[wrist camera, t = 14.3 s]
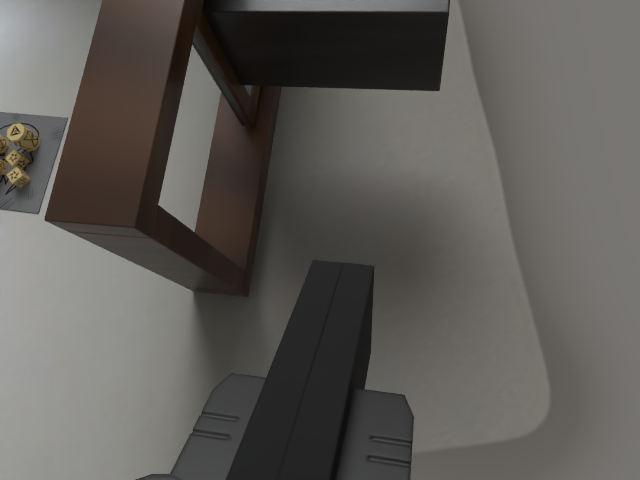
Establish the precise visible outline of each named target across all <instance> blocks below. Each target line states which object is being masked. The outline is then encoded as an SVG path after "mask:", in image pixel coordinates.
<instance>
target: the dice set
mask: <svg viewBox="0 0 640 480" xmlns="http://www.w3.org/2000/svg"><path fill="white" fill-rule="evenodd" d="M9 140H10V141H11V142H13V143H14V144H16V145H17V146H19V147H20V148H22V149H23V150H25V151H27V152H32V151H34V150H35V149H37V148H38V147H39V146H40V142H41V139H40V137H39V136H38V135H37V134H36V133H34V132H33V131H32V130H30V129H29V128H27V127H26V126H24V125H23V124H22V123H20V122H17V123H12V124H11V125H10V127H9V128H8V129H7V130H6V137H4V136H3V135H1V134H0V154H1V153H4V152H5V150H7V149H8V147H9ZM4 159H5V160H3V159H1V158H0V176H2V175H5V174H6V176H7V178H8V179H9V181H10V182H11V184H12V185H14V186H16V187H18V188H22V187H23V186H24V185H25V184H26V183H27V182H28V181H30V180H31V179H30V177H29V176H28V175H27V173H26V172H25V171H24V170H23V169H22V168H24V167H25V166H26V165H27V164H28V162H29V160H28V159H27V158H26V157H25V156H24V155H23V154H22V153H21V152H19V151H17V150H16V149H13V150H12V151H11V152H10V153H9V154H8V155H7V156H6V157H5V158H4ZM8 163H9V164H10V165H11V166H12V167H14V168H13V169H12V170H10V171H9V172H8V173H7V164H8Z"/></svg>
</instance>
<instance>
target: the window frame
mask: <svg viewBox="0 0 640 480" xmlns="http://www.w3.org/2000/svg"><path fill="white" fill-rule="evenodd" d="M200 4H201V0H103V1H102V5H101V9H100V13H99V16H98V20H97V24H96V28H95V31H94V35H93V39H92V43H91V46H90V50H89V54H88V58H87V61H86V65H85V69H84V73H83V76H82V80H81V84H80V88H79V91H78V95H77V99H76V103H75V106H74V110H73V114H72V118H71V121H70V125H69V129H68V133H67V136H66V140H65V144H64V148H63V151H62V155H61V159H60V163H59V166H58V170H57V174H56V178H55V181H54V185H53V189H52V193H51V196H50V200H49V204H48V208H47V211H46V215H45V221H47V222H49V223H51V224H53V225H55V226H57V227H59V228H61V229H64V230H66V231H68V232H70V233H72V234H74V235H76V236H78V237H81V238H83V239H85V240H87V241H89V242H91V243H93V244H95V245H97V246H100V247H102V248H104V249H106V250H108V251H110V252H112V253H114V254H116V255H118V256H121V257H123V258H125V259H127V260H129V261H131V262H133V263H135V264H137V265H140V266H142V267H144V268H146V269H148V270H150V271H152V272H154V273H156V274H158V275H161V276H163V277H165V278H167V279H169V280H171V281H173V282H175V283H177V284H180V285H182V286H184V287H186V288H188V289H190V290H192V291H197V292H207V293H217V294H227V295H237V296H246V297H247V296H248V293H249V287H250V281H251V274H252V268H253V262H254V255H255V249H256V243H257V237H258V230H259V224H260V218H261V211H262V205H263V199H264V192H265V186H266V180H267V174H268V167H269V161H270V155H271V148H272V142H273V136H274V129H275V123H276V117H277V111H278V104H279V98H280V92H281V86H261V87H260V93H259V99H258V105H257V111H256V117H255V122H254V126H253V127H249V126H242V125H241V123H240V122H239V120H238V118H237V117H236V115H235V113H234V112H233V110H232V109H231V107H230V105H229V104H228V102H227V100H226V99H225V97H224V95H223V94H222V92H221V97H220V103H219V108H218V113H217V118H216V124H215V129H214V134H213V139H212V145H211V150H210V155H209V160H208V166H207V171H206V176H205V181H204V187H203V192H202V197H201V202H200V208H199V213H198V218H197V223H196V229H195V232H193V231H192V230H191V229H189V228H188V227H187V226H185V225H184V224H183V223H181V222H180V221H179V220H177V219H176V218H175V217H173V216H172V215H171V214H169V213H168V212H167V211H166V210H164V209H163V208H162V207H160V206H159V205H158V203H159V198H160V193H161V189H162V184H163V179H164V174H165V170H166V165H167V160H168V155H169V151H170V146H171V141H172V137H173V132H174V127H175V122H176V118H177V113H178V108H179V103H180V99H181V94H182V89H183V85H184V80H185V75H186V70H187V66H188V61H189V56H190V51H191V47H192V42H193V37H194V32H195V28H196V23H197V18H198V14H199V9H200Z"/></svg>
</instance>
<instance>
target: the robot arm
mask: <svg viewBox="0 0 640 480" xmlns="http://www.w3.org/2000/svg"><path fill="white" fill-rule="evenodd" d="M373 284H374V266H372V265H361V264H351V263H340V262H329V261H318V260H313V262H312V264H311V267H310V269H309V272H308V274H307V277H306V279H305V282H304V284H303V287H302V289H301V292H300V294H299V297H298V299H297V302H296V304H295V307H294V309H293V312H292V314H291V317H290V319H289V322H288V325H287V327H286V330H285V332H284V335H283V337H282V340H281V342H280V345H279V347H278V350H277V352H276V355H275V357H274V360H273V362H272V365H271V367H270V370H269V372H268V375H267V377H266V378H265V377H257V376H250V375H242V374H235V373H231V374H230V375H229V376H228V377H226V378H225V379H224V380H223V381H222V382H221V383H220V384H219V385H218V386H216V387H215V388H214V389H213V390H212V392H211V394H210V396H209V398H208V400H207V402H206V404H205V406H204V408H203V410H202V414H201V416H199V418H198V420H197V422H196V424H195V426H194V428H193V432H192V434H190V436H189V438H188V440H187V442H186V444H185V445H184V447H183V449H182V451H181V453H180V455H179V457H178V459H177V461H176V463H175V465H174V467H173V469H172V471H171V473H170V474H151V475H148V476H145V477H142V478H139V479H136V480H410V473H411V456H412V441H413V424H414V416H413V414H412V411H411V409H410V407H409V404H408V402H407V400H406V398H405V395H402V394H394V393H387V392H379V391H372V390H365V389H364V388H365V382H366V377H367V371H368V365H369V359H370V354H371V333H372V308H373Z"/></svg>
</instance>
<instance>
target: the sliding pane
mask: <svg viewBox="0 0 640 480" xmlns="http://www.w3.org/2000/svg"><path fill="white" fill-rule="evenodd" d="M449 6H450V0H201V4H200V9H199V14H198V18H197V23H196V28H195V32H194V37H193V42H192V44H193V46H194V48H195V49H196V51H197V53H198V54H199V56H200V58H201V59H202V61H203V63H204V64H205V66H206V67H207V69H208V71H209V72H210V74H211V76H212V77H213V79H214V81H215V82H216V84H217V86H218V87H219V89H220V90H221V92H222V94H223V95H224V97H225V99H226V100H227V102H228V104H229V105H230V107H231V109H232V110H233V112H234V113H235V115H236V117H237V118H238V120H239V122H240V123H241V125H242V126H249V127H253V126H254V122H255V117H256V111H257V105H258V99H259V93H260V87H261V86H284V87H318V88H352V89H387V90H421V91H439V90H440V83H441V75H442V66H443V58H444V50H445V42H446V33H447V25H448V17H449Z"/></svg>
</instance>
